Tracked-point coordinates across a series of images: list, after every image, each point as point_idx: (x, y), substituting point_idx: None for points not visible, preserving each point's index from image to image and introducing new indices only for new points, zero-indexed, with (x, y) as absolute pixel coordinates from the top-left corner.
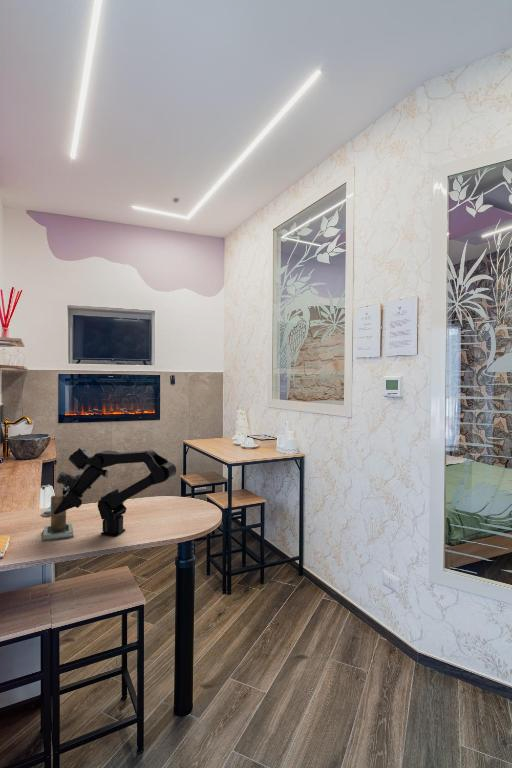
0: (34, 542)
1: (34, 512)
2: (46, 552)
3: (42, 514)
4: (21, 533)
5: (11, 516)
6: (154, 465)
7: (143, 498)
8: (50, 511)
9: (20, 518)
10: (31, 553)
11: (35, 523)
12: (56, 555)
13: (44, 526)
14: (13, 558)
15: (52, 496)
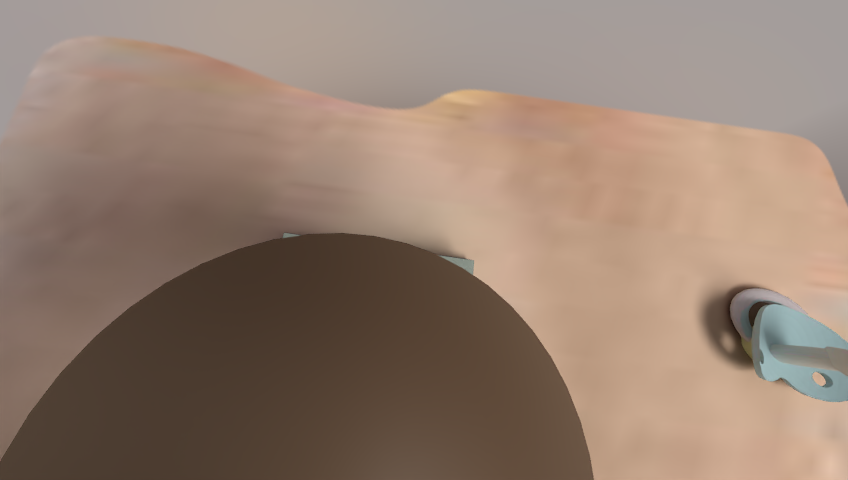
0: (302, 193)
1: (800, 259)
2: (69, 231)
3: (747, 292)
4: (487, 154)
5: (759, 149)
6: None
7: None
8: (756, 339)
9: (721, 182)
10: (121, 153)
11: (621, 240)
12: None
13: (466, 263)
14: (111, 66)
15: (453, 295)
